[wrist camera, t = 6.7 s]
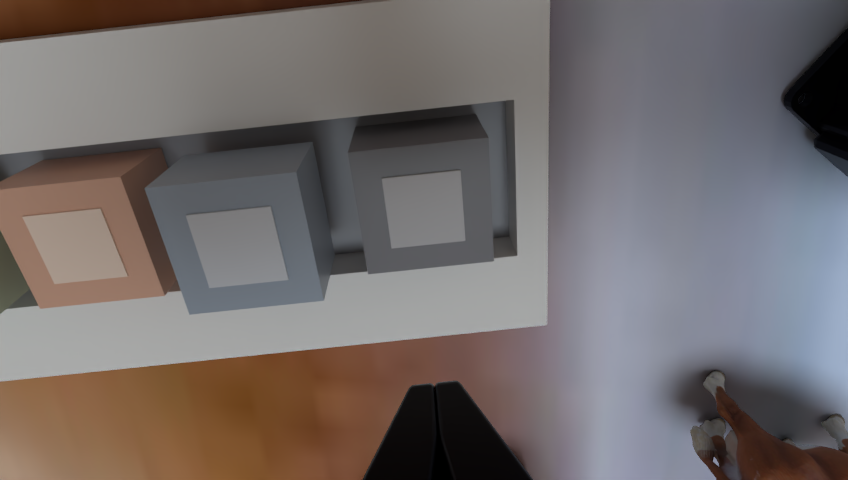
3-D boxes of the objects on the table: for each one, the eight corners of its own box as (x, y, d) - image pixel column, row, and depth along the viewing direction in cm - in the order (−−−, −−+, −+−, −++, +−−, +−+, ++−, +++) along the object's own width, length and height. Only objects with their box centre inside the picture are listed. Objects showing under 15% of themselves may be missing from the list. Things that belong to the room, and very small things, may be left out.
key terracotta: (161, 147, 18) (119, 177, 16) (196, 253, 20) (163, 297, 18) (41, 160, 18) (-21, 192, 16) (87, 264, 20) (39, 309, 18)
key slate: (312, 141, 17) (295, 172, 14) (334, 254, 19) (323, 302, 16) (184, 155, 17) (143, 189, 14) (219, 267, 19) (188, 315, 16)
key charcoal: (475, 114, 18) (489, 138, 16) (481, 223, 20) (494, 262, 17) (355, 126, 18) (347, 153, 16) (372, 235, 20) (368, 275, 18)
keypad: (530, -18, 18) (550, -17, 15) (532, 289, 23) (547, 325, 21) (-213, 63, 18) (-306, 76, 15) (-39, 348, 23) (-88, 390, 21)
